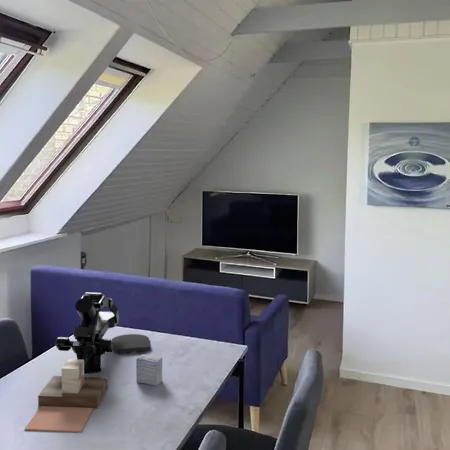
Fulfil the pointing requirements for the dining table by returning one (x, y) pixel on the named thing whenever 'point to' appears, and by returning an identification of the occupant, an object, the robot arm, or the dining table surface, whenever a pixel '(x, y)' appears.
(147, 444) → the dining table surface
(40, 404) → the oak plinth
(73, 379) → the birch block
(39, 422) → the terracotta mat
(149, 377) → the medicine box
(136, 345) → the media streaming box
